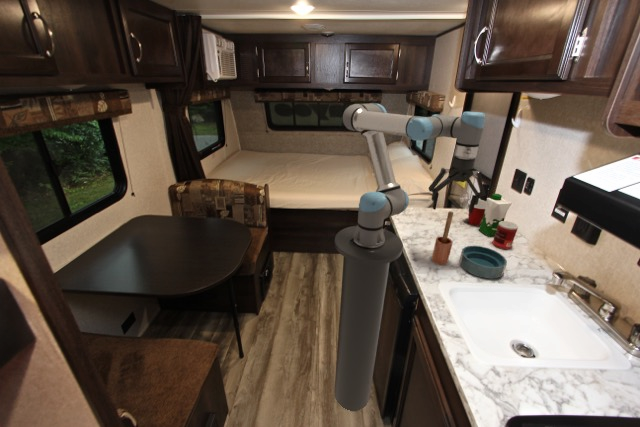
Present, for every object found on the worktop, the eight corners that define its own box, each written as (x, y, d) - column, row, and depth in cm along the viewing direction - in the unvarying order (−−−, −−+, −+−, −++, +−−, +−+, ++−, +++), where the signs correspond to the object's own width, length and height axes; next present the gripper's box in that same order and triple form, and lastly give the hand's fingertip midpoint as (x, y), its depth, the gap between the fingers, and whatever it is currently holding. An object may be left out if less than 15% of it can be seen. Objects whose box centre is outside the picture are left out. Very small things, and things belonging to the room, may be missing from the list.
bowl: (463, 276, 115) (467, 264, 113) (455, 254, 130) (458, 243, 128) (508, 282, 112) (513, 270, 110) (495, 259, 127) (498, 248, 125)
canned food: (511, 244, 139) (518, 223, 134) (510, 251, 133) (517, 230, 128) (493, 239, 143) (499, 219, 138) (491, 246, 137) (498, 225, 132)
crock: (432, 263, 123) (437, 243, 119) (430, 255, 128) (435, 235, 124) (448, 265, 122) (454, 245, 117) (446, 257, 127) (451, 237, 123)
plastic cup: (460, 223, 158) (465, 203, 153) (466, 217, 166) (471, 197, 161) (482, 229, 152) (488, 208, 147) (487, 222, 159) (493, 202, 154)
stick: (436, 260, 124) (447, 213, 114) (435, 256, 126) (446, 210, 117) (444, 261, 123) (455, 214, 114) (443, 257, 126) (454, 211, 116)
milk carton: (490, 228, 154) (501, 192, 145) (503, 236, 146) (515, 199, 137) (475, 229, 152) (486, 193, 144) (488, 237, 144) (499, 200, 136)
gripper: (429, 156, 105) (420, 210, 114) (505, 162, 100) (489, 217, 109) (427, 152, 112) (418, 203, 120) (498, 156, 107) (483, 209, 116)
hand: (452, 210), depth 115 cm, fingers open, 13 cm apart
